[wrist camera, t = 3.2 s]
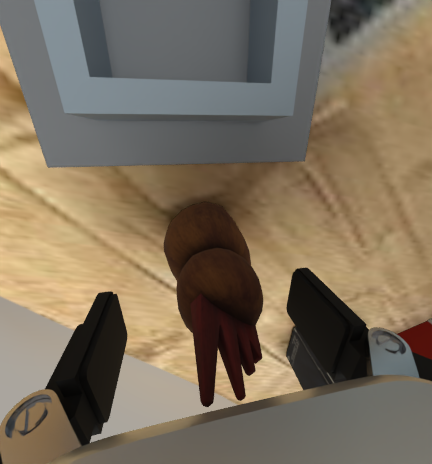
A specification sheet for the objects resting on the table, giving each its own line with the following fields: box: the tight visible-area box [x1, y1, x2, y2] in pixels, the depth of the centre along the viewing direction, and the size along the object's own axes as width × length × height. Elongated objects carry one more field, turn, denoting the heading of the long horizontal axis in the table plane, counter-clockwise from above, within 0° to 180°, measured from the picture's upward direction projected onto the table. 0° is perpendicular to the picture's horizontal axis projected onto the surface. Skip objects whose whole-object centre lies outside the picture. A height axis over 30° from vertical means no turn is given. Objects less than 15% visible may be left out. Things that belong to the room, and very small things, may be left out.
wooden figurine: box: [164, 202, 263, 407], centre depth 13 cm, size 7×6×15 cm
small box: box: [286, 327, 347, 390], centre depth 26 cm, size 11×6×10 cm, turn 88°
